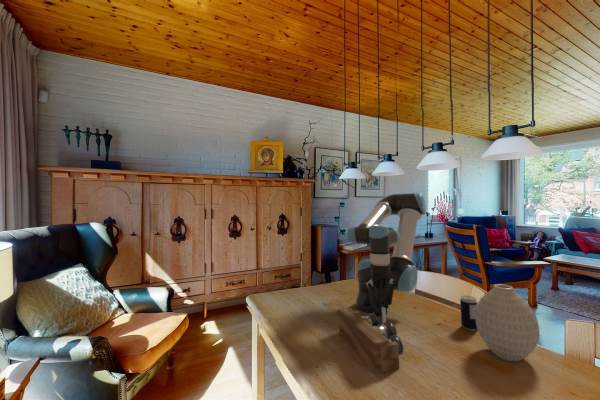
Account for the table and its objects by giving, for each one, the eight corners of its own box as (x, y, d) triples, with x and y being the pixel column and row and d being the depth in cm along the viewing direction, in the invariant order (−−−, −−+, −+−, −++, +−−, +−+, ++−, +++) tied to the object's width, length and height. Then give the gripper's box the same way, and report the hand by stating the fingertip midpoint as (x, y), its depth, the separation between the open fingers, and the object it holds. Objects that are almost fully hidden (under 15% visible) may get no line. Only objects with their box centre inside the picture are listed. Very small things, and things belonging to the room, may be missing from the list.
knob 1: (374, 324, 104) (373, 310, 105) (381, 330, 99) (381, 315, 99) (354, 327, 102) (353, 313, 102) (361, 334, 97) (360, 319, 97)
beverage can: (476, 325, 104) (474, 295, 104) (480, 332, 98) (479, 300, 99) (459, 324, 106) (458, 294, 106) (463, 330, 100) (462, 299, 101)
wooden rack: (357, 328, 104) (356, 306, 105) (399, 368, 78) (398, 339, 79) (339, 332, 102) (338, 309, 103) (375, 374, 76) (374, 343, 77)
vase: (526, 378, 72) (521, 298, 73) (466, 350, 87) (463, 284, 87) (551, 360, 80) (546, 288, 80) (492, 337, 94) (489, 276, 95)
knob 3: (393, 349, 86) (392, 332, 86) (403, 358, 81) (402, 340, 81) (369, 353, 84) (368, 336, 84) (378, 363, 79) (378, 345, 79)
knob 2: (387, 334, 96) (387, 319, 96) (397, 341, 90) (396, 325, 91) (366, 338, 94) (366, 322, 94) (374, 346, 88) (374, 329, 88)
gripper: (388, 260, 108) (391, 317, 108) (360, 263, 105) (363, 321, 104) (400, 264, 101) (402, 324, 100) (370, 267, 98) (373, 330, 97)
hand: (382, 323), depth 102 cm, fingers closed
